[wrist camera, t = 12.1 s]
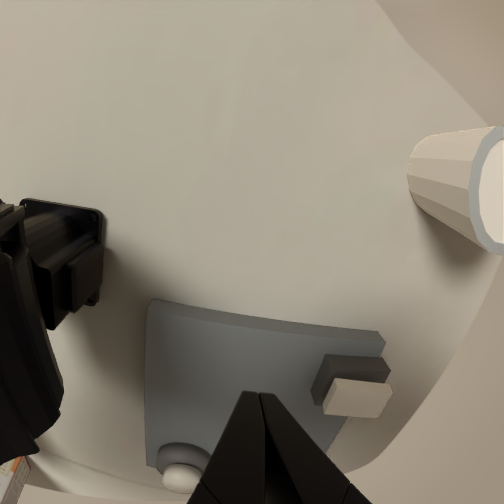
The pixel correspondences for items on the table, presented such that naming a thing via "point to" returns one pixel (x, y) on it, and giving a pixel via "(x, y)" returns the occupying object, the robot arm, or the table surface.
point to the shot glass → (463, 183)
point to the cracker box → (13, 479)
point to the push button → (181, 478)
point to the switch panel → (241, 375)
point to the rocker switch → (356, 398)
